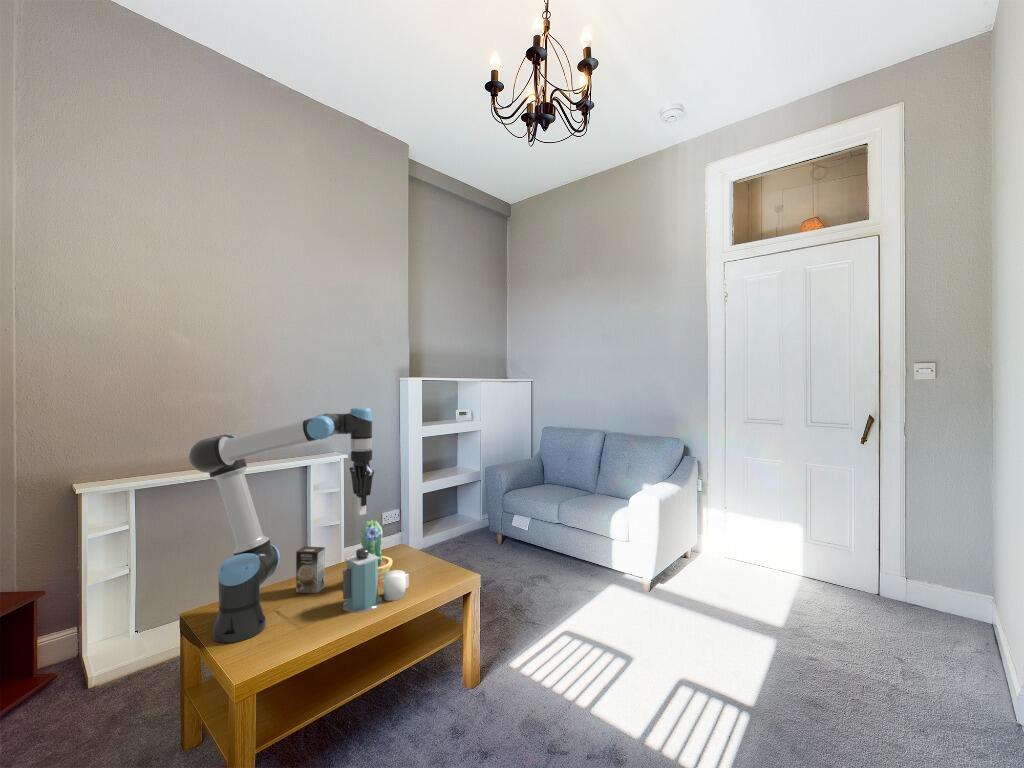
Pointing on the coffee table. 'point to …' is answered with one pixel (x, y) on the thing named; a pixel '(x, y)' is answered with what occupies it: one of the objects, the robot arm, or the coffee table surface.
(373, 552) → the potted cactus
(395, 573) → the mug
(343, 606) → the trivet
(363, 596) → the carafe
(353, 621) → the coffee table surface
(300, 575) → the coffee box
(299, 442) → the robot arm
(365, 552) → the plunger
